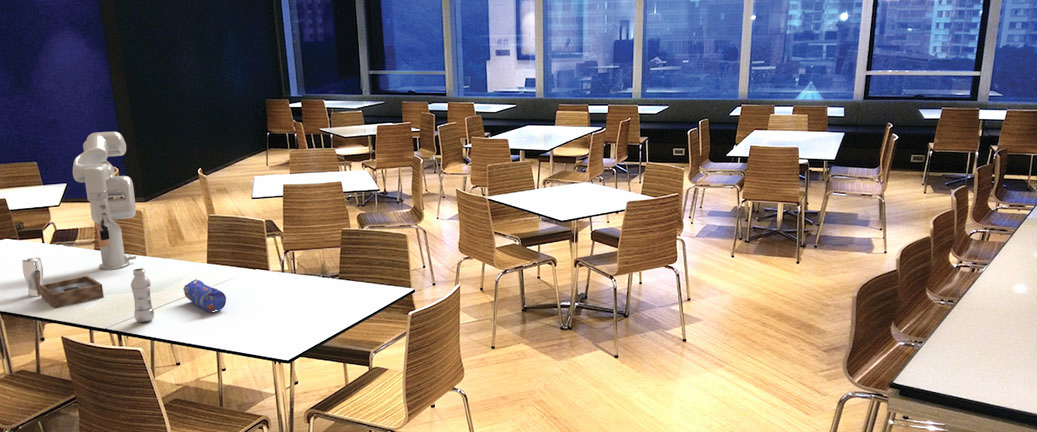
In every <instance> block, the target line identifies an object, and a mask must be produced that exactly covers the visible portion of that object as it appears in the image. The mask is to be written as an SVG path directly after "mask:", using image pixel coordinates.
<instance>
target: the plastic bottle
mask: <svg viewBox="0 0 1037 432" xmlns="http://www.w3.org/2000/svg"><path fill="white" fill-rule="evenodd" d="M132 272H133V276H134V277H133V279H132V280H131V282H130V288H131V291H132V295H133V299H134V314H133V315H134V320H135V321H137V322H138V323H147V322H151V321H152V320H154V317H155V311H154V309H153V305H152V301H151V300H152V299H151V281H150V279H149V278H148V277H147V276H146V271H145V268H135V269H133V271H132Z"/></svg>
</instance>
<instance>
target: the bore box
mask: <svg viewBox="0 0 1037 432" xmlns="http://www.w3.org/2000/svg"><path fill="white" fill-rule="evenodd" d="M40 290H41V297H40V298H41V299H42V300H43V301H45V302H46V303H48V305H50V306H51V307H53V308H54V309H57V308H61V307H66V306H71V305H75V304H79V303H83V302H89V301H94V300H97V299H98V300H99V299H102V298H104V297H105V295H104V288H103V283H100V282H98V281H97V280H95V278H92V277H91V276H89V275H84V276H79V277H74V278H69V279H64V280H59V281H58V280H57V281H55V282H54V281H53V282H49V283H43V285H40Z"/></svg>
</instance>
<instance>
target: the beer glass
mask: <svg viewBox="0 0 1037 432" xmlns="http://www.w3.org/2000/svg"><path fill="white" fill-rule="evenodd" d="M21 263H22V265H21V266H22V273H23V276H24V279H25V282H26V284H27V290H28V292H27V293H28V294H27V295H28V297H31V298H33V297H40V296H41V290H40V285H44V283H43V282H44V269H43V263H42V259H41V257H30V258H24V259H22V261H21Z"/></svg>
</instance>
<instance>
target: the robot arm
mask: <svg viewBox="0 0 1037 432" xmlns="http://www.w3.org/2000/svg"><path fill="white" fill-rule="evenodd" d="M82 148H83V152H82V153H80V154H79V155H78V156H76V157H75V159H74V160H73V166H72V176H73V179H74V180H75V181H76V182H78V183H85V191H86V196H87V197H86V198H87V201H88V202H89V205H90V207H89V208H90V214H91V215H90V216H91V220H92V222H94V224H95V231H96V238H97V239H98V235H97V228H96V223H98V224H99V225H100V230H101V231H100V236H101V240H107V239H109V244H110V246H107V247H99V249H100V255H101V262H102V263H101V264H99V265H98V269H100V270H106V271H109V270H110V271H111V270H118V269H124V268H126V267H129V265H130V260H135V259H137V256H136V254H132V255H131V254H130V255H126V254H125V249H124V243H123V242H124V241H123V233H122V228H121V226H120V225H119V224H118V223H117V222H116V220H126V219H132V218H134V217H135V216H136V212H137V208H136V199H135V190H134V183H133V180H132V178H131V177H130V176H127V175H116V176H115V171H114V166H113V165H112V164H111V163H110V162H109V161H108V160H107V159H108V157H120V156H124V155H125V154H126V152H127V143H126V141H125V139H124V137H123V135H122V134H121V133H120V132H118V131H103V132H97V131H96V132H92V133H90V134H89V135H87V138H86V140H85V141H84V143H82ZM119 197H120V198H119ZM102 222H104V223H102ZM102 225H103V226H102Z"/></svg>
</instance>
